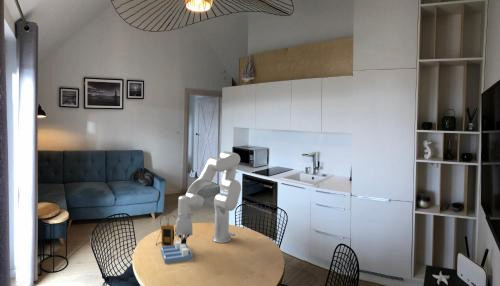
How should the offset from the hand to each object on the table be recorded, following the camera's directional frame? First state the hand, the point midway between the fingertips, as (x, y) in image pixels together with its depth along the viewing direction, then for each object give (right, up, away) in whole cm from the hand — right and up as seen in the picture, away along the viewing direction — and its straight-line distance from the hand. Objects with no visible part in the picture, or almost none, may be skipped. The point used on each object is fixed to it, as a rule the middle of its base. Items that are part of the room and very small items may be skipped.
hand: (183, 244), depth 201 cm
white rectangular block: (+1, -2, -6) cm, 6 cm away
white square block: (+3, -3, -11) cm, 12 cm away
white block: (-3, -2, -1) cm, 4 cm away
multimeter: (-11, -2, +11) cm, 16 cm away
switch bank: (-3, -4, -7) cm, 9 cm away
